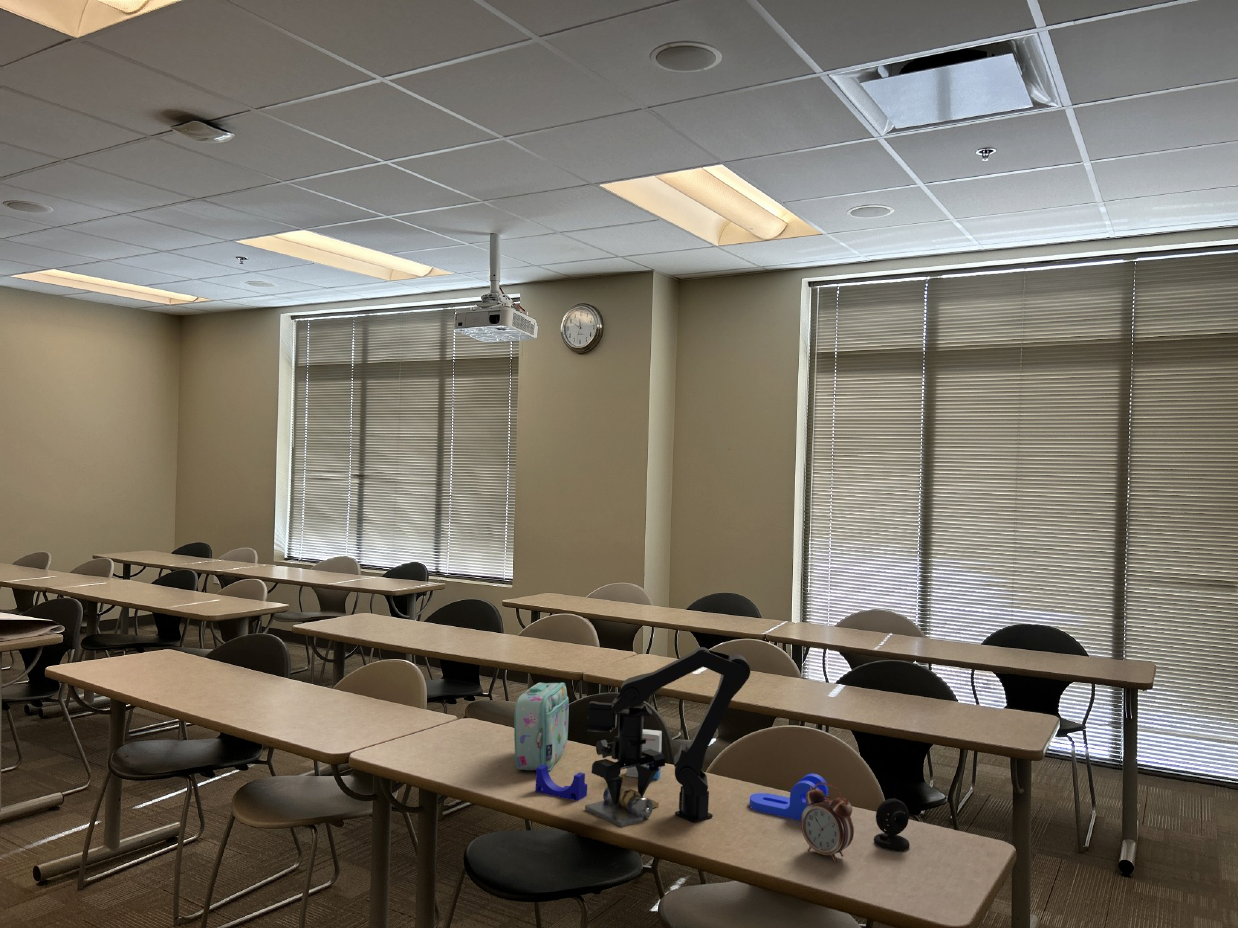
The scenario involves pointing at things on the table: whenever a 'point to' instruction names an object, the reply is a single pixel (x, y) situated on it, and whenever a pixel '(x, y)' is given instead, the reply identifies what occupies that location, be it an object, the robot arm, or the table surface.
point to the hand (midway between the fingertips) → (627, 800)
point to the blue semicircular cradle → (550, 788)
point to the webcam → (892, 825)
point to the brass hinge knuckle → (628, 794)
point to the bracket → (788, 799)
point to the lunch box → (541, 725)
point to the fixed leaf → (621, 810)
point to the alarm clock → (827, 822)
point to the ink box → (652, 743)
